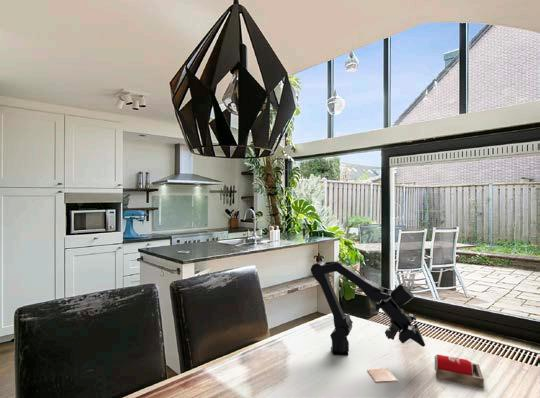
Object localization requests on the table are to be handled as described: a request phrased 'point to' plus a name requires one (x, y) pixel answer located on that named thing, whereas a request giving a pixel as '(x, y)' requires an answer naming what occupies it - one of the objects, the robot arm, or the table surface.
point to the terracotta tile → (382, 375)
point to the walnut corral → (463, 376)
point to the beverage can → (453, 364)
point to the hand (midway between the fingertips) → (424, 345)
